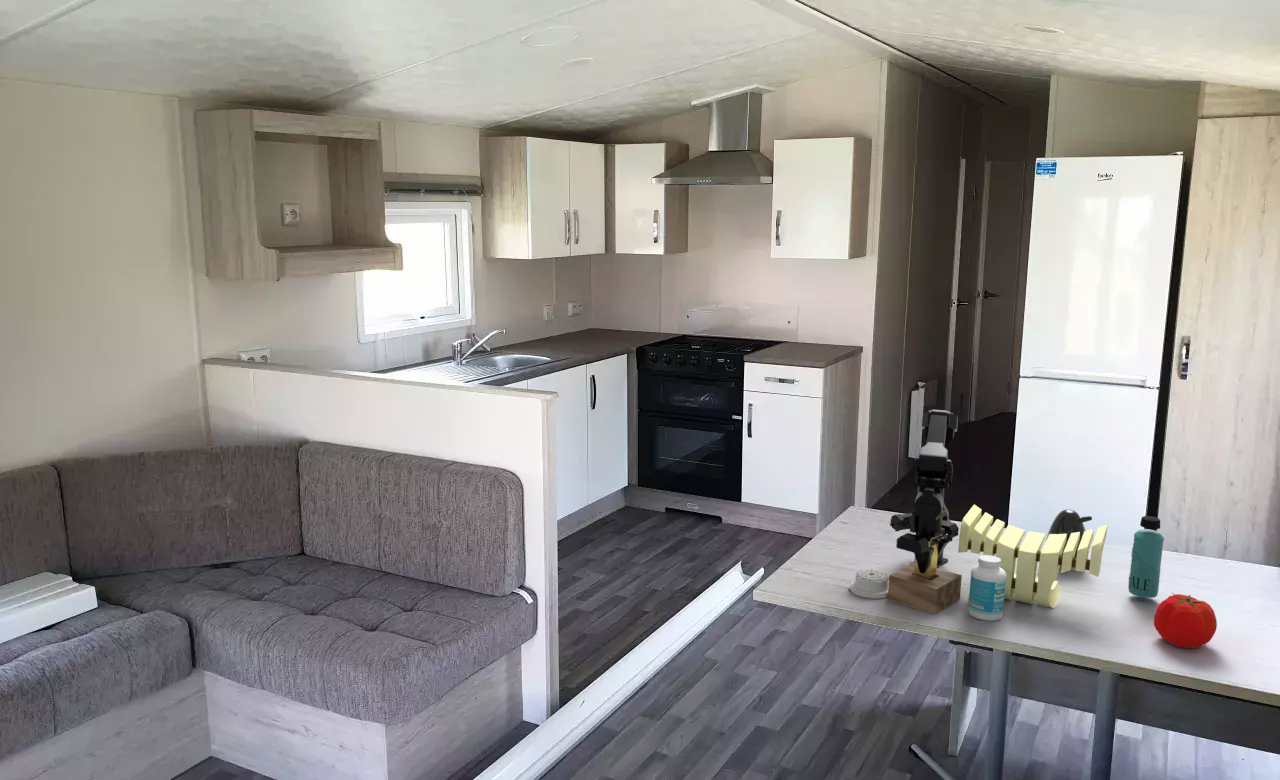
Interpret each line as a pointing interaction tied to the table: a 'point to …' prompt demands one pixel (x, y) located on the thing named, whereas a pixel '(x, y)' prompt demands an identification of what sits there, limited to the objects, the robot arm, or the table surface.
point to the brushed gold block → (929, 565)
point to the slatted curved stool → (1031, 555)
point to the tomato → (1185, 621)
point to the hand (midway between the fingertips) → (925, 571)
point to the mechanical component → (870, 584)
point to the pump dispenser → (1068, 526)
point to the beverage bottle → (1146, 559)
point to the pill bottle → (987, 589)
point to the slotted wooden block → (924, 589)
